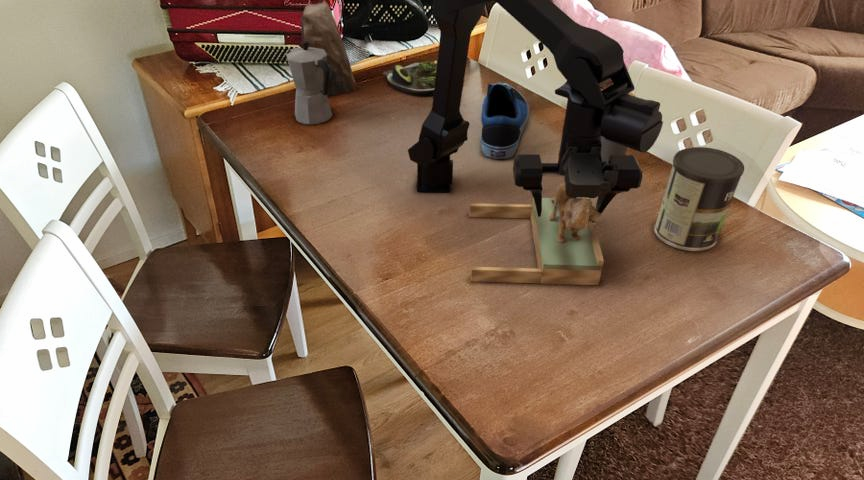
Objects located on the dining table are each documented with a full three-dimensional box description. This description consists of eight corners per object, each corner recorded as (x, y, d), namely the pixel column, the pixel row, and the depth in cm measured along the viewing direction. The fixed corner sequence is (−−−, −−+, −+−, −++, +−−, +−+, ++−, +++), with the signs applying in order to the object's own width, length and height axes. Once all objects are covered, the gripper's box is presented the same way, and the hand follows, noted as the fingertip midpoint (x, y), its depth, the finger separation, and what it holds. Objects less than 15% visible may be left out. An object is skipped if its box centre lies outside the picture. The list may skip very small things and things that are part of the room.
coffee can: (721, 225, 109) (747, 154, 100) (713, 258, 102) (741, 184, 93) (659, 211, 113) (679, 141, 104) (647, 241, 106) (668, 169, 97)
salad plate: (424, 61, 173) (424, 44, 170) (474, 77, 163) (475, 59, 160) (375, 82, 163) (374, 65, 160) (425, 101, 153) (425, 83, 150)
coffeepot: (283, 113, 151) (271, 38, 139) (315, 102, 155) (307, 29, 144) (316, 135, 141) (307, 57, 130) (350, 122, 145) (344, 46, 134)
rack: (470, 281, 100) (472, 257, 97) (469, 214, 114) (470, 191, 111) (598, 285, 98) (604, 260, 95) (580, 216, 112) (585, 193, 109)
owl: (310, 100, 156) (300, 18, 143) (296, 82, 165) (286, 4, 152) (357, 90, 159) (351, 10, 147) (341, 73, 168) (334, -4, 156)
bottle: (588, 159, 128) (601, 90, 118) (616, 157, 128) (631, 88, 119) (598, 174, 123) (612, 103, 114) (627, 171, 124) (644, 101, 114)
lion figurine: (596, 253, 98) (607, 205, 92) (563, 256, 97) (572, 209, 92) (565, 202, 109) (573, 157, 103) (535, 205, 109) (542, 160, 103)
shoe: (529, 101, 150) (535, 51, 142) (526, 163, 128) (533, 107, 120) (484, 99, 152) (487, 49, 144) (473, 160, 130) (477, 105, 122)
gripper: (523, 155, 86) (513, 244, 96) (662, 156, 84) (637, 247, 94) (517, 119, 95) (508, 204, 105) (643, 119, 93) (622, 206, 103)
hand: (567, 215), depth 101 cm, fingers open, 9 cm apart
